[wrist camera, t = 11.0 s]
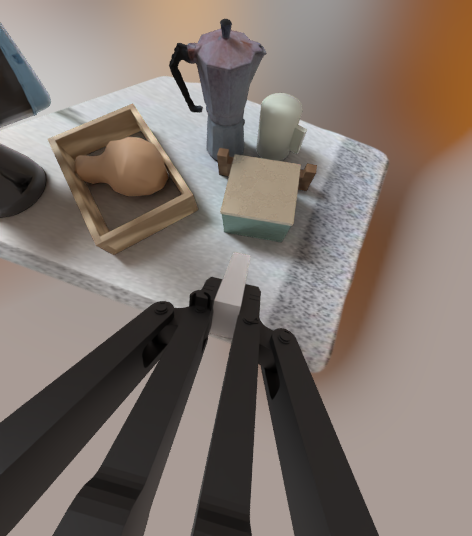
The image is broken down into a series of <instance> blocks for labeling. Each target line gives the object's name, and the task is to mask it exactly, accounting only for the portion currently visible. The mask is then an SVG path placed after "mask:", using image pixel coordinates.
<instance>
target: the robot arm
mask: <svg viewBox="0 0 472 536" xmlns="http://www.w3.org/2000/svg"><path fill="white" fill-rule="evenodd" d="M50 104H51V99H50V96H49V94H48V92H47V91H46V89H45V87H44V86H43V84H42V83H41V81H40V80H39V78H38V77H37V75H36V74H35V72H34V71H33V69H32V68H31V66H30V65H29V63H28V62H27V60H26V59H25V57H24V56H23V54H22V53H21V51H20V50H19V48H18V47H17V45H16V44H15V43H14V41H13V40H12V38H11V37H10V36H9V34H8V33H7V31H6V30H5V28H4V27H3V25H2V24H1V22H0V128H1V127H3V126H6V125H9V124H11V123H14V122H17V121H20V120H22V119H25V118H28V117H30V116H35V115H37V113H38V112H40V111H42V110H44V109H46V108H48V107H49V106H50ZM45 184H46V176H45V172H44V170H43V169H42V168H41V167H40V166H39V165H38V164H37V163H35V162H34V161H33V160H32V159H30V158H29V157H27V156H25V155H23V154H21V153H19V152H17V151H15V150H13V149H11V148H9V147H7V146H5V145H2V144H0V217H7V216H12V215H15V214H17V213H20V212H22V211H24V210H25V209H27V208H28V207H30V206H31V205H32V204H33V203H35V202H36V200H37V199H38V198H39V197H40V195H41V194H42V192H43V190H44V188H45ZM250 257H251V256H250V255H246V254H241V253H237V252H233V255H232V257H231V260H230V262H229V265H228V267H227V270H226V272H225V275H224V277H223V279H219V278H214V277H210V278H209V279H207V280H206V282H205V284H204V286H203V288H202V289H201V290H197V291H194V292H192V293H191V294H190V301H189V307H186V308H174V306H173V305H172V304H171V303H170V302H166V301H160V302H156V303H154V304H152V305H151V306H150V307H148V308H147V309H146V310H144V311H143V312H142V313H141V314H140V315H138V316H137V317H136V318H134V319H133V320H132V321H130V322H129V323H128V324H126V325H125V326H124V327H123V328H121V329H120V330H119V331H117V332H116V333H115V334H114V335H112V336H111V337H110V338H108V339H107V340H106V341H105V342H103V343H102V344H101V345H99V346H98V347H97V348H96V349H95V350H93V351H92V352H91V353H89V354H88V355H87V356H85V357H84V358H83V359H82V360H80V361H79V362H78V363H76V364H75V365H74V366H73V367H71V368H70V369H69V370H68V371H66V372H65V373H64V374H62V375H61V376H60V377H59V378H57V379H56V380H54V381H53V382H52V383H51V384H49V385H48V386H47V387H45V388H44V389H43V390H42V391H41V392H39V393H38V394H37V395H35V396H34V397H33V398H31V399H30V400H29V401H28V402H26V403H25V404H24V405H22V406H21V407H20V408H19V409H17V410H16V411H15V412H14V413H12V414H11V415H10V416H8V417H7V418H6V419H4V420H3V421H2V422H0V536H6V535H7V534H8V533H9V532H10V531H11V530H12V529H13V528H14V527H15V526H16V524H17V523H18V522H19V521H20V520H21V519H22V518H23V517H24V515H25V514H26V513H27V512H28V511H29V509H30V508H31V507H32V506H33V505H34V504H35V503H36V501H37V500H38V499H39V498H40V497H41V496H42V495H43V493H44V492H45V491H46V490H47V489H48V488H49V487H50V485H51V484H52V483H53V482H54V481H55V480H56V478H57V477H58V476H59V475H60V474H61V473H62V472H63V470H64V469H65V468H66V467H67V466H68V465H69V463H70V462H71V461H72V460H73V459H74V458H75V457H76V455H77V454H78V453H79V452H80V451H81V449H82V448H83V447H84V446H85V445H86V444H87V443H88V442H89V440H90V439H91V438H92V437H93V436H94V435H95V433H96V432H97V431H98V430H99V429H100V428H101V427H102V425H103V424H104V423H105V422H106V421H107V419H108V418H109V417H110V416H111V415H112V414H113V413H114V411H115V410H116V409H117V408H118V407H119V406H120V405H121V403H122V402H123V401H124V400H125V399H126V398H127V397H128V395H129V394H130V393H131V392H132V391H133V390H134V388H135V387H136V386H137V385H138V384H139V383H140V382H141V380H142V379H143V378H144V377H145V376H146V374H147V373H148V372H149V371H150V370H151V369H152V368H153V366H154V365H155V364H156V363H157V362H158V361H159V362H158V364H157V365H156V367H155V369H154V371H153V373H152V374H151V376H150V378H149V380H148V382H147V383H146V386H145V387H144V389H143V391H142V393H141V394H140V396H139V398H138V400H137V402H136V403H135V405H134V407H133V409H132V411H131V412H130V414H129V416H128V418H127V420H126V422H125V423H124V425H123V427H122V429H121V431H120V433H119V434H118V436H117V438H116V440H115V441H114V443H113V445H112V447H111V449H110V451H109V452H108V454H107V456H106V458H105V460H104V461H103V463H102V465H101V467H100V468H99V470H98V472H97V473H96V474H95V475H94V477H93V478H92V479H91V480H89V481H88V482H87V483H86V484H85V485H84V486H83V488H82V489H81V490H80V491H79V493H78V494H77V495H76V497H75V498H74V500H73V502H72V503H71V505H70V506H69V508H68V510H67V512H66V513H65V515H64V516H63V518H62V520H61V522H60V523H59V525H58V527H57V529H56V530H55V532H54V534H53V535H52V536H143V535H144V532H145V528H146V525H147V521H148V517H149V512H150V509H151V506H152V502H153V499H154V496H155V494H156V491H157V488H158V485H159V482H160V479H161V476H162V473H163V470H164V467H165V464H166V461H167V458H168V456H169V452H170V450H171V447H172V444H173V441H174V438H175V435H176V432H177V429H178V426H179V423H180V420H181V417H182V414H183V411H184V409H185V405H186V403H187V400H188V397H189V394H190V391H191V388H192V385H193V382H194V379H195V376H196V373H197V370H198V367H199V365H200V362H201V359H202V356H203V353H204V350H205V347H206V344H207V340H208V335H209V332H210V334H213V335H217V336H221V337H225V338H230V339H232V344H231V348H230V352H229V358H228V362H227V367H226V372H225V377H224V381H223V386H222V391H221V396H220V400H219V405H218V410H217V414H216V419H215V424H214V429H213V433H212V438H211V443H210V448H209V452H208V457H207V462H206V466H205V471H204V476H203V481H202V485H201V490H200V495H199V500H198V504H197V509H196V514H195V519H194V523H193V528H192V532H191V536H252V533H251V526H250V498H251V481H252V463H253V446H254V428H255V411H256V393H257V376H258V364H259V365H261V370H262V375H263V380H264V385H265V390H266V395H267V400H268V405H269V410H270V415H271V420H272V425H273V430H274V435H275V440H276V445H277V450H278V455H279V460H280V465H281V470H282V475H283V480H284V485H285V490H286V495H287V500H288V505H289V510H290V515H291V520H292V525H293V530H294V535H295V536H379V535H378V532H377V530H376V528H375V525H374V523H373V520H372V518H371V516H370V513H369V511H368V509H367V506H366V504H365V502H364V499H363V497H362V494H361V492H360V490H359V487H358V485H357V482H356V480H355V478H354V475H353V473H352V470H351V468H350V466H349V463H348V461H347V459H346V456H345V454H344V451H343V449H342V447H341V445H340V442H339V440H338V437H337V435H336V432H335V430H334V428H333V425H332V423H331V421H330V418H329V416H328V413H327V411H326V409H325V406H324V404H323V402H322V399H321V397H320V394H319V392H318V390H317V387H316V385H315V383H314V380H313V378H312V375H311V373H310V371H309V368H308V366H307V363H306V361H305V359H304V356H303V354H302V351H301V349H300V347H299V344H298V342H297V340H296V338H295V336H294V335H293V334H292V333H291V332H290V331H288V330H286V329H282V328H279V329H276V330H274V331H273V330H271V329H269V328H267V327H266V326H264V325H263V324H262V322H261V321H260V318H259V312H260V296H261V291H260V289H259V287H256V286H252V285H247V284H245V282H246V277H247V272H248V267H249V262H250Z"/></svg>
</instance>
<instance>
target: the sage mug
mask: <svg viewBox="0 0 472 536" xmlns="http://www.w3.org/2000/svg"><path fill="white" fill-rule="evenodd" d="M301 114H302V105H301V103H300V101H299V100H298V99H297V98H295V97H294V96H292V95H289V94H285V93H277V94H272V95H270V96H268V97H266V98H265V99H264V100H263V102H262V104H261V112H260V120H259V129H258V138H257V146H256V150H257V153H258V155H259V156H260V157H261V158H262V159H269V160H275V161H282V160H284V159H285V158H286V157H287V156H288V154H289V152H290V151H291V152H293V153H295V154H297V153H298V152H299V150H300V148H301V145H302V142H303V140H304V137H305V134H306V132H307V129H305V128H303V127H301V126H300V125H298V123H299V120H300V117H301Z"/></svg>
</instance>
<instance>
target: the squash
mask: <svg viewBox="0 0 472 536" xmlns="http://www.w3.org/2000/svg"><path fill="white" fill-rule="evenodd" d="M75 173H76V174H77V175H78V176H79V177H80V178H81V179H82V180H83V181H84V182H88V183H92V184H95V183H108V184H109V185H110V186H111V187H112V189H113V190H114V191H115V192H118V193H120V194H123V195H125V196H143V195H151V194H153V193H155V192H157V191H159V190H161V189H163V188H164V186H165V184H166V182H167V180H168V178H169V176H168V173H167V170H166V167H165V164H164V160H163V156H162V155H161V153H160V152H159V151H158V149H157V148H156V146H155V145H154V144H152V143H150V142H148V141H146V140H143V139H141V138H136V137H127V138H124V139H121V140H116V141H110V142H109V143H108V144H107V146H106V149H105V151H104V152H103V153H102V154H101V155H99V156H84V155H80V156H78V157H76V161H75Z"/></svg>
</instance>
